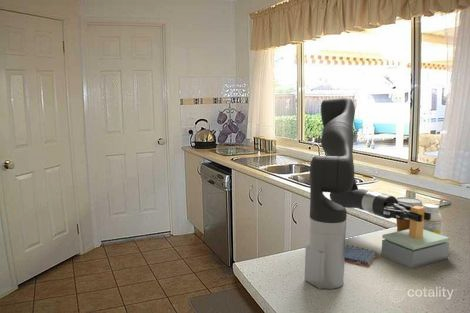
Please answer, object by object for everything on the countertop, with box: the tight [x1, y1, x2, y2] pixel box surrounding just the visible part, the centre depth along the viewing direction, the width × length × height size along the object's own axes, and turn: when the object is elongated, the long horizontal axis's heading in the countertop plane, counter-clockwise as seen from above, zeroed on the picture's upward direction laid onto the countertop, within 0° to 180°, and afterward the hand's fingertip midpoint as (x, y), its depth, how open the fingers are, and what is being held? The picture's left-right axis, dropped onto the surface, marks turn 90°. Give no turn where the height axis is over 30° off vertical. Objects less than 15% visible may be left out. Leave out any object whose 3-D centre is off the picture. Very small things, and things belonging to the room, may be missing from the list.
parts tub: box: [380, 238, 450, 270], centre depth 119 cm, size 16×11×5 cm
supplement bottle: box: [422, 203, 443, 235], centre depth 130 cm, size 7×7×13 cm
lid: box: [381, 206, 451, 250], centre depth 118 cm, size 16×11×11 cm
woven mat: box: [344, 244, 379, 268], centre depth 119 cm, size 10×11×2 cm
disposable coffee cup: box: [395, 196, 424, 232], centre depth 141 cm, size 10×10×12 cm
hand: (425, 217), depth 115 cm, fingers closed on lid, 3 cm apart
